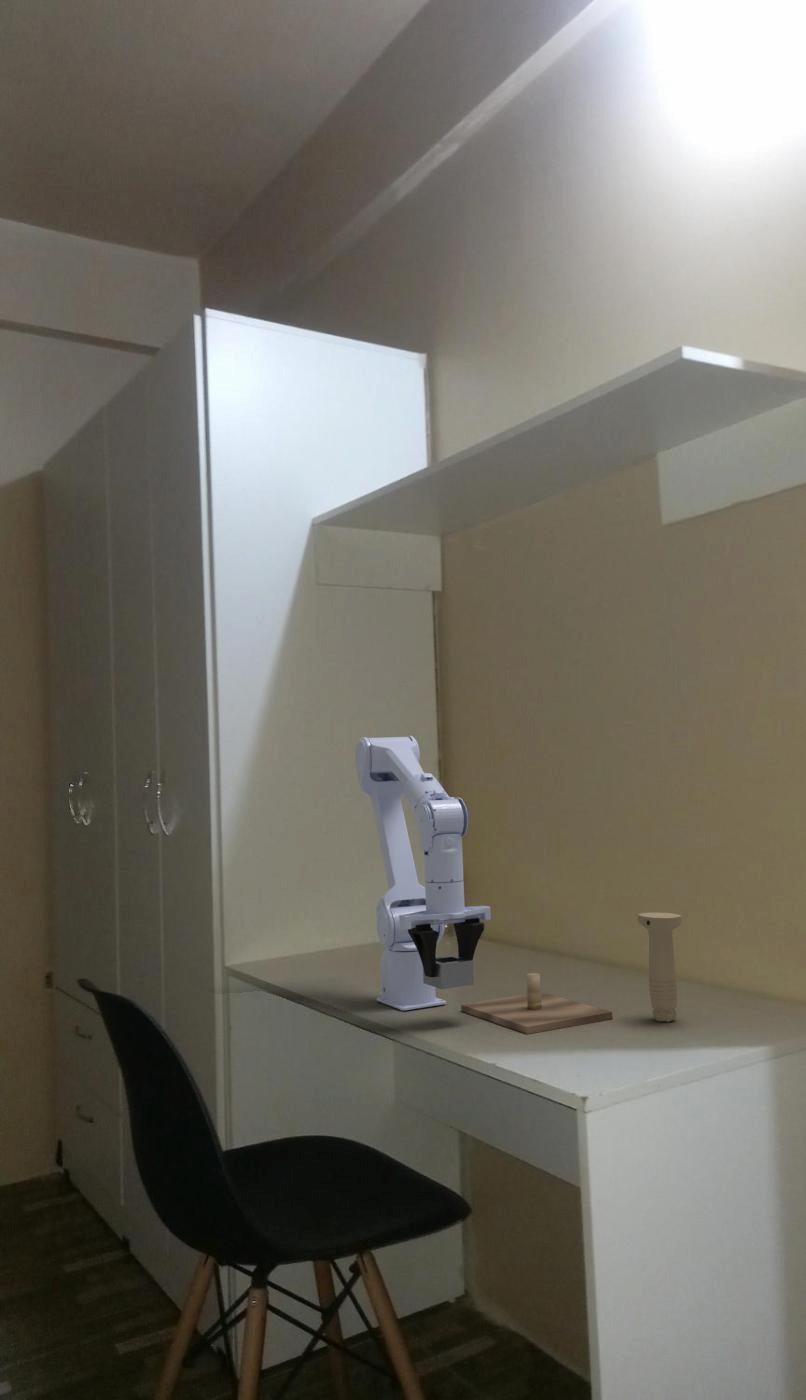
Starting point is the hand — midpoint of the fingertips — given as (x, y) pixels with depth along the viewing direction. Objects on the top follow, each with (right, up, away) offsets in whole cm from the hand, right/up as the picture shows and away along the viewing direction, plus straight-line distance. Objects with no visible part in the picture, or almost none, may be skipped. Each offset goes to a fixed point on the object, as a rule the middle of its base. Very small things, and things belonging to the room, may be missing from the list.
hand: (447, 973), depth 164 cm
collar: (0, -2, 0) cm, 2 cm away
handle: (+31, -6, -3) cm, 32 cm away
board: (+13, -7, +3) cm, 15 cm away
